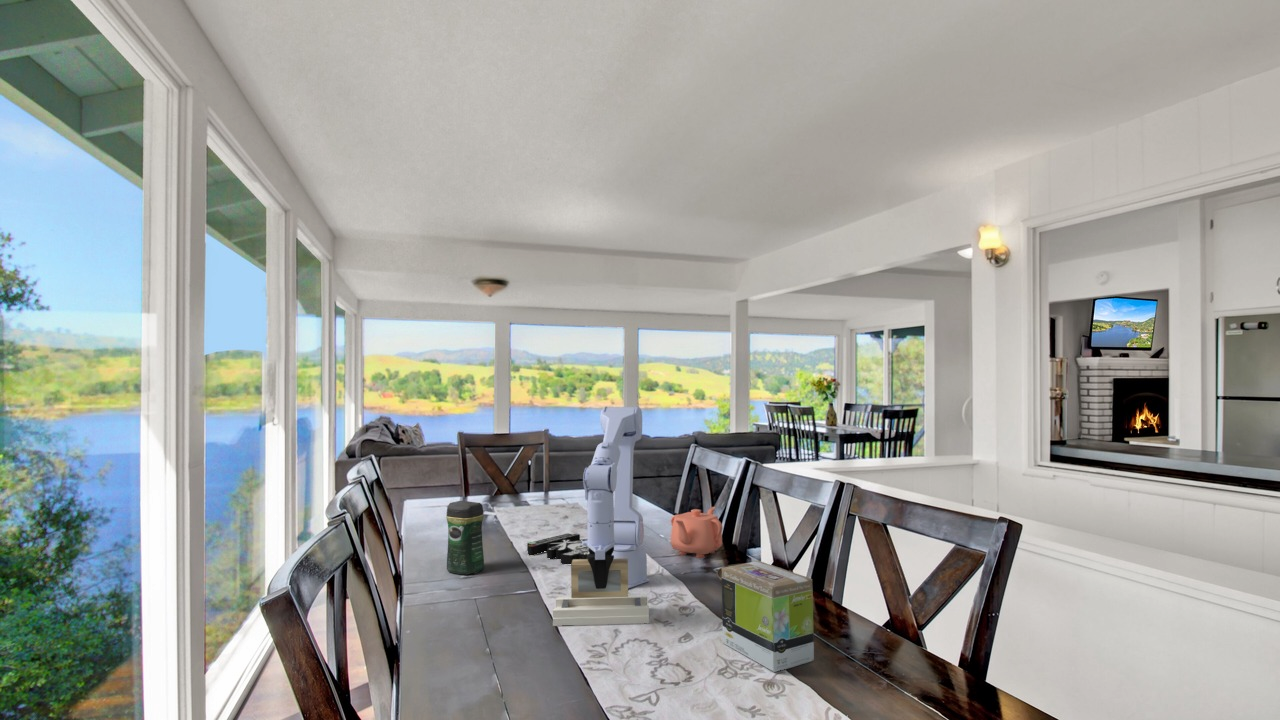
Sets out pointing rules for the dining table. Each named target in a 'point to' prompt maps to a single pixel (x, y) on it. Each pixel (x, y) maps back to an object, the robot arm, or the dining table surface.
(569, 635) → the dining table surface
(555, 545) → the sign
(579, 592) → the beige rectangular panel
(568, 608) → the cream rectangular frame
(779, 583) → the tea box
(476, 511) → the coffee jar
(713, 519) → the teapot
